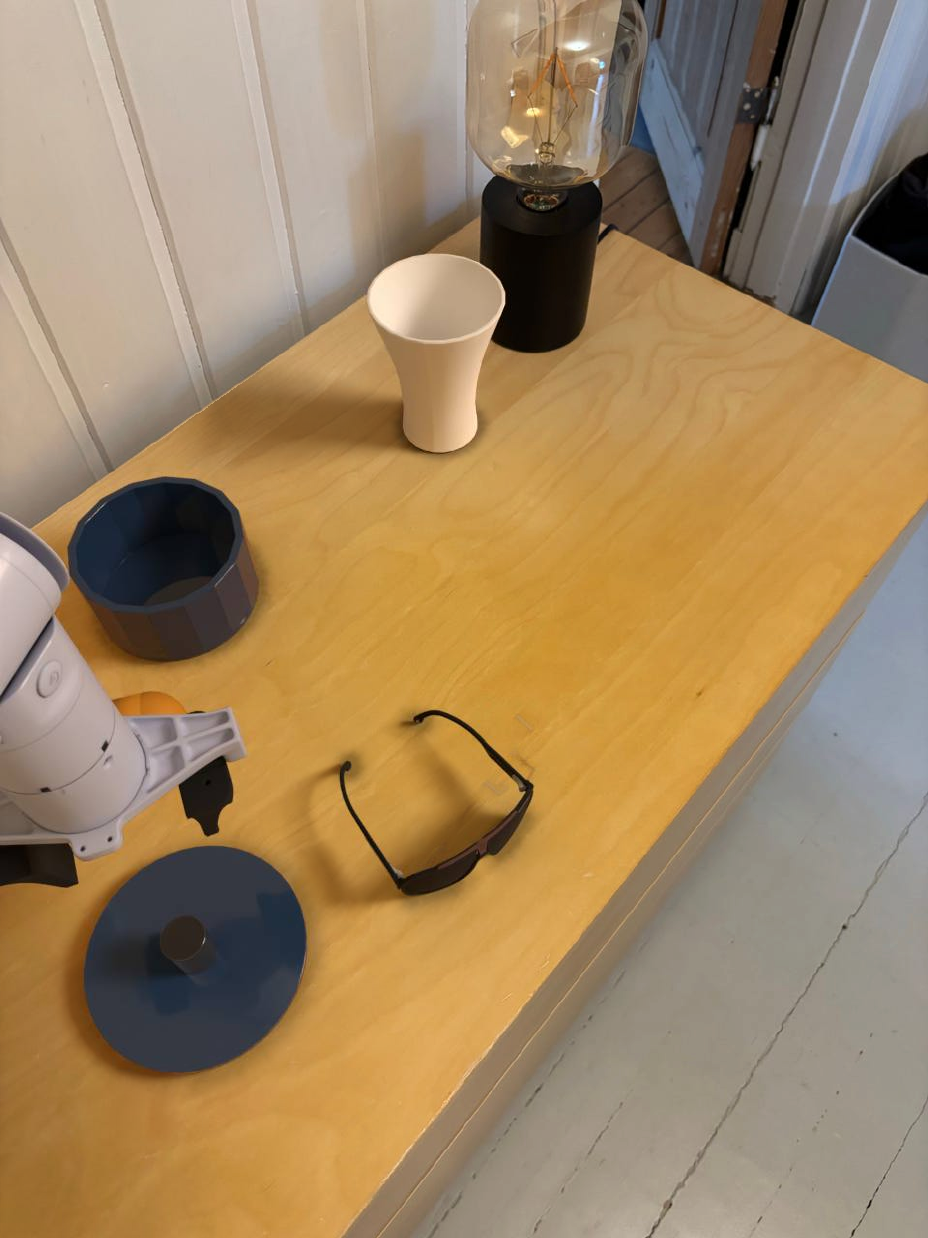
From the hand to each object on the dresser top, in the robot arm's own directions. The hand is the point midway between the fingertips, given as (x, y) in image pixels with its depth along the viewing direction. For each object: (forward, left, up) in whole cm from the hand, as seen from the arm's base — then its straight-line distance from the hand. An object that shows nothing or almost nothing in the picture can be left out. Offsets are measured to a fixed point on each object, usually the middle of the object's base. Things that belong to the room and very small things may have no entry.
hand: (140, 843), depth 51 cm
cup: (+26, +35, -10) cm, 45 cm away
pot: (+2, +24, -9) cm, 25 cm away
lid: (0, -4, -9) cm, 10 cm away
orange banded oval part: (-1, +12, -9) cm, 15 cm away
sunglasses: (+16, +2, -10) cm, 19 cm away
